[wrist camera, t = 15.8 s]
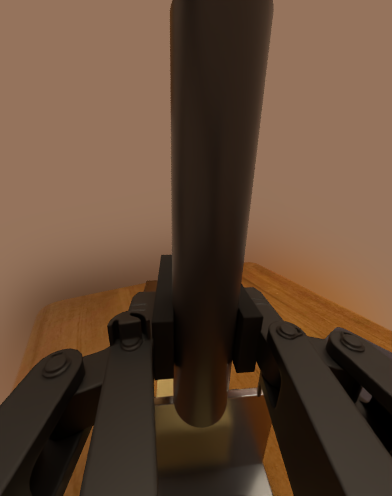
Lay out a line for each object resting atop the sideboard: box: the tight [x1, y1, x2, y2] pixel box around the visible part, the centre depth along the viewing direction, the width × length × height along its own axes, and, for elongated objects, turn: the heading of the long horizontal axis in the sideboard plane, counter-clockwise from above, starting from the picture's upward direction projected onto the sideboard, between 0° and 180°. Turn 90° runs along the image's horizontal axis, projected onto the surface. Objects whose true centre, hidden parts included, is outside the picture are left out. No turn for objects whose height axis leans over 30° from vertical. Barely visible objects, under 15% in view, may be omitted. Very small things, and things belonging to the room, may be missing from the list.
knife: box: [154, 0, 273, 478], centre depth 8 cm, size 8×3×20 cm, turn 97°
